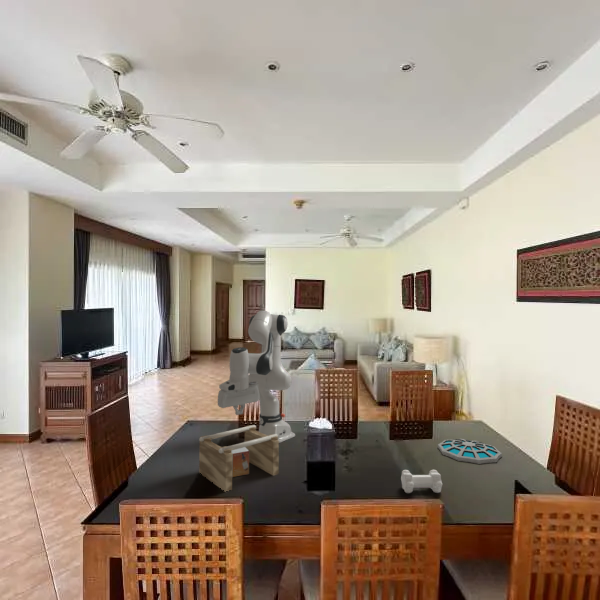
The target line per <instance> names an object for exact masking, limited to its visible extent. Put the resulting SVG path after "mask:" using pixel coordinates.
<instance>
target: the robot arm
mask: <svg viewBox="0 0 600 600" xmlns="http://www.w3.org/2000/svg"><path fill="white" fill-rule="evenodd" d="M248 324H249V325H248V330H247V333H248V337H250V340H252V341H253V342H254V343H257V344H260V345H261V353H250V352H249V351H248V348H247V347H242V346H241V347H235V348H233V349H231V351H230V356H229V377H228V378H229V379H227V380H226V381H224V382H222V383H220V384H219V387H218V388H219V389H220V390H219V391H218V393H217V406H218V407H219V408H221V409H224V408H231V407H233V409H234V411H235V412H234V413H235V415H236V416H240V415H243V414H244V410H245V408H246V405H247V404H251V403H256V402H259V414H258V415H259V417H258V419H259V420H258V421H259V426H258V427H259V428H258V432H260V433H263V434H265V435H271V434H277V435H278V440H279V444H280V443H283V442H284V441H287V440H290V439H292V438H294V437H296V433H295V432H293V431H292V428H291V425H290V424H289V423H288V422H286V421H285V420H283V419H284V418H285V417H286V414H285V413H281V412H280V400H279V398H278V397H277V396H276V395H274V394H273V393H272V392H271V391H285V390H288V389H290V387H291V385H292V380H293V378H292V375H291V374H290V373H289V372H288V371H287V370H286V369H285V367H284V365H283V363H282V356H281V355H282V354H281V351H282V349H281V348H282V347H281V346H282V339H281V338H282V337H281V336H282V335H283V334H285V332H286V331H287V329H288V319H287V317H286V316H285V315H283V314H275V313H273V314H272V313H270V312H269V311H267V310H263V309H262V310H259V311H258V312H256V313H255V314H254V315H252V316H251V317H250V318H249V322H248ZM239 406H240V408H239ZM238 408H239V409H238ZM282 418H283V419H282Z"/></svg>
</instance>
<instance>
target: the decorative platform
mask: <svg viewBox="0 0 600 600" xmlns="http://www.w3.org/2000/svg"><path fill="white" fill-rule="evenodd" d="M437 449H438V450H439V451H440V452H441V455H442V456H446V457H448V458H450V459H454V460H456V461H457V462H464V463H465V462H466V463H471V464H477V465H481V464H490V463H491V464H493V463H494V464H495V463H497V462H498V461H499V460H500V459H501V458H503V453H502V452H501V451H499V450H498V448H496V447H495V446H493V445H490V444H487V443H484V442H482V441H479V440H471V439H464V438H458V439H457V438H455V439H454V438H453V439H444V440H443V441H441V442H439V443H438V444H437Z"/></svg>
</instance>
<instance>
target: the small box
mask: <svg viewBox="0 0 600 600" xmlns="http://www.w3.org/2000/svg"><path fill="white" fill-rule="evenodd" d="M231 453H232V478H234V477H239V476H245V475H249V474H250V462H249V450H248V449H247V448H246V447H243V448H239V449H236V450H232V451H231Z"/></svg>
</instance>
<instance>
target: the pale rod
mask: <svg viewBox="0 0 600 600" xmlns="http://www.w3.org/2000/svg"><path fill="white" fill-rule="evenodd" d="M250 425H251V424H250ZM246 426H247V427H245V426H244V427H239V428H235V429H230V430H226V431H222V432H217V433H214V434H209V435H207V436H206V435H203V436H204V437H201V436H200V437H199V439H198V441H199V443H200V442H203V441H204V439H205V438H211V440H214V439H219V438H224V437H227V436H232V435H236V434H240V433H245V431H249V428H252V427H256V428H257V425H255V424H252V425H251V426H249V425H246Z"/></svg>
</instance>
